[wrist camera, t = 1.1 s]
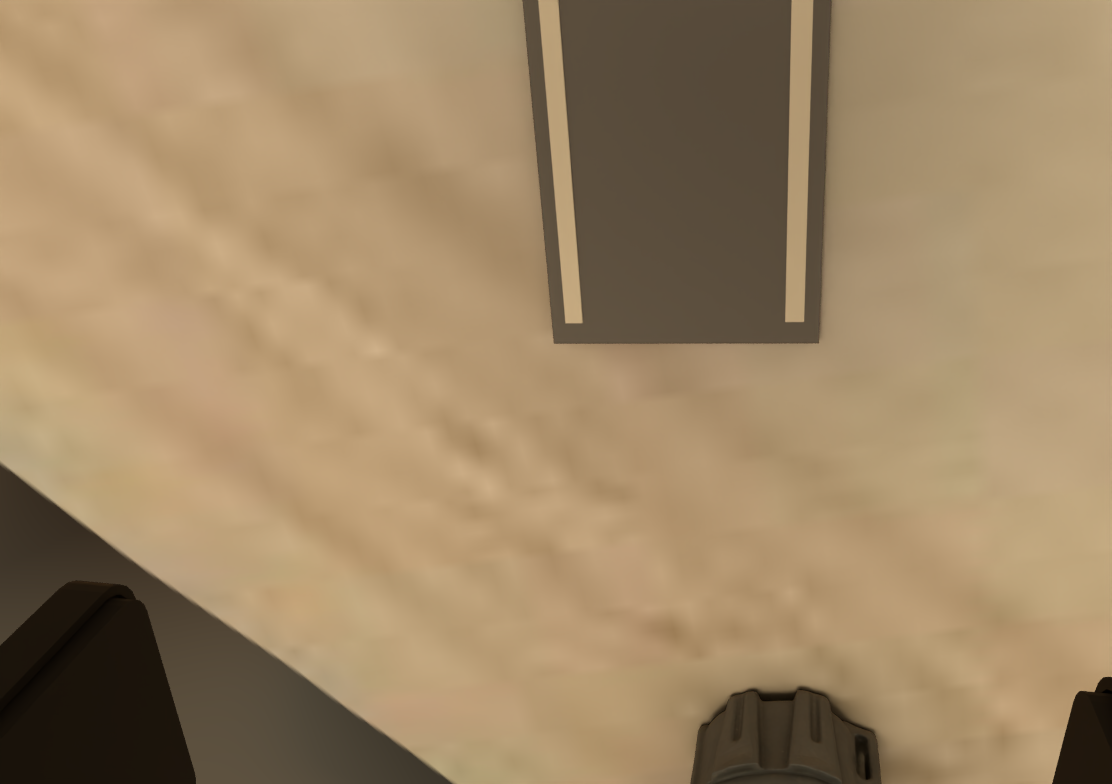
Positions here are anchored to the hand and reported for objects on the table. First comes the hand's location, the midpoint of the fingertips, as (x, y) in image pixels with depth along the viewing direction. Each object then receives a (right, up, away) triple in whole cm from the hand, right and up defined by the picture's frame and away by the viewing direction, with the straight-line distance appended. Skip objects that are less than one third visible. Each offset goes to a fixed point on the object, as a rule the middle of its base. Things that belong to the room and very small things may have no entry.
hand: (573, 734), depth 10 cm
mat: (+4, +12, +20) cm, 24 cm away
